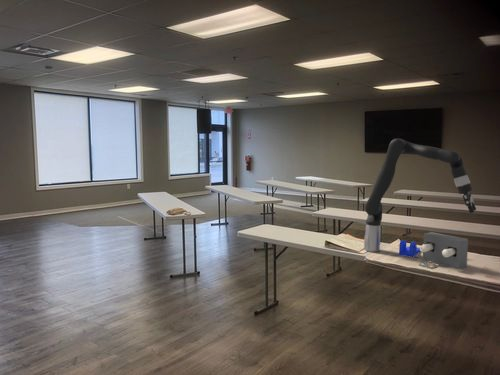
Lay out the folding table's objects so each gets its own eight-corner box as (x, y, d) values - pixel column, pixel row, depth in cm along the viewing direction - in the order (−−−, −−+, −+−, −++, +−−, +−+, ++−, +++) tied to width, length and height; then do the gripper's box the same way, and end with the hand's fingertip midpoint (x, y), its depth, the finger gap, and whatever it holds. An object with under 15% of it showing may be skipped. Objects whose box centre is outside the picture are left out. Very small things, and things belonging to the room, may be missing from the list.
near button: (449, 258, 215) (449, 250, 214) (441, 256, 219) (442, 248, 218) (457, 255, 220) (458, 248, 219) (449, 254, 223) (450, 246, 223)
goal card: (431, 268, 218) (431, 267, 218) (418, 265, 225) (418, 264, 225) (437, 267, 221) (437, 265, 221) (424, 263, 228) (424, 262, 228)
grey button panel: (459, 269, 217) (460, 241, 216) (422, 259, 235) (423, 233, 234) (466, 266, 222) (468, 239, 220) (430, 257, 240) (431, 232, 238)
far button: (427, 252, 226) (427, 245, 225) (420, 251, 229) (420, 243, 229) (435, 250, 230) (436, 243, 230) (428, 249, 234) (429, 241, 233)
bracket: (412, 257, 241) (413, 243, 240) (399, 255, 247) (399, 241, 246) (421, 251, 255) (422, 237, 254) (408, 249, 260) (409, 235, 259)
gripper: (458, 185, 230) (467, 211, 228) (453, 187, 219) (464, 215, 217) (472, 181, 226) (482, 208, 224) (468, 183, 214) (478, 211, 213)
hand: (473, 211), depth 221 cm, fingers open, 8 cm apart
